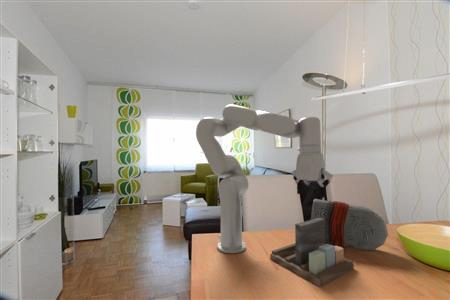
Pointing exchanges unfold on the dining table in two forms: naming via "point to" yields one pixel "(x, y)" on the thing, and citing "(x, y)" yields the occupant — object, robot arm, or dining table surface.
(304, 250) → the charcoal panel
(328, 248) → the slate offcut board
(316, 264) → the sage offcut board
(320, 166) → the robot arm
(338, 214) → the decorative stone tablet
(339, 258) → the terracotta offcut board
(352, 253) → the dining table surface
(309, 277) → the walnut rack
